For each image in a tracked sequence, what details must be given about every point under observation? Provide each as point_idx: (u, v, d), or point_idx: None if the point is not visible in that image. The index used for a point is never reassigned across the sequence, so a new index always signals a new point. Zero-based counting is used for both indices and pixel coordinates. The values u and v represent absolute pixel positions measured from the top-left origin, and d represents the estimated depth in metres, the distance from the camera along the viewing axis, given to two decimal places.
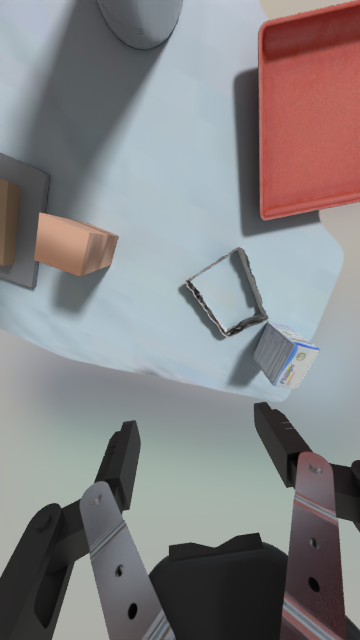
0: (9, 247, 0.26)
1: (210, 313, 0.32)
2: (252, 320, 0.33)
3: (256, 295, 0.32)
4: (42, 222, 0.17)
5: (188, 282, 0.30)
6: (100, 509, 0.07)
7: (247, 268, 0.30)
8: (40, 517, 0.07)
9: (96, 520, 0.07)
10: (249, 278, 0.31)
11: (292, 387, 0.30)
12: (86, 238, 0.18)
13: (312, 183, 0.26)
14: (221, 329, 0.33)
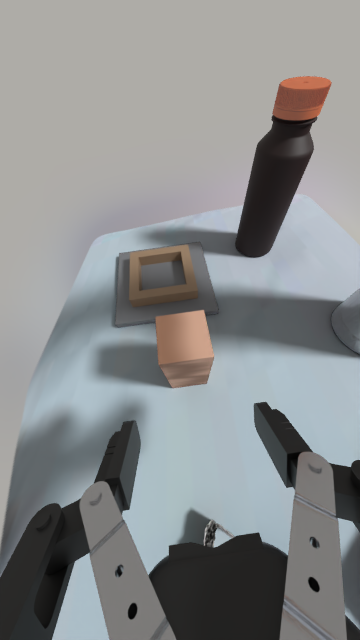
0: (147, 301, 0.29)
1: None
2: None
3: None
4: (196, 313, 0.17)
5: (212, 526, 0.17)
6: (100, 509, 0.07)
7: None
8: (40, 517, 0.07)
9: (96, 520, 0.07)
10: None
11: None
12: (206, 356, 0.15)
13: None
14: None
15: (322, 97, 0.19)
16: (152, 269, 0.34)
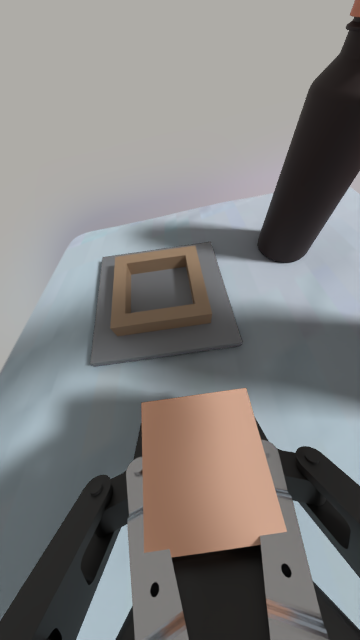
0: (137, 328, 0.20)
1: None
2: None
3: None
4: (230, 397, 0.08)
5: None
6: (141, 482, 0.08)
7: None
8: (94, 483, 0.08)
9: None
10: None
11: None
12: None
13: None
14: None
15: None
16: (146, 279, 0.25)
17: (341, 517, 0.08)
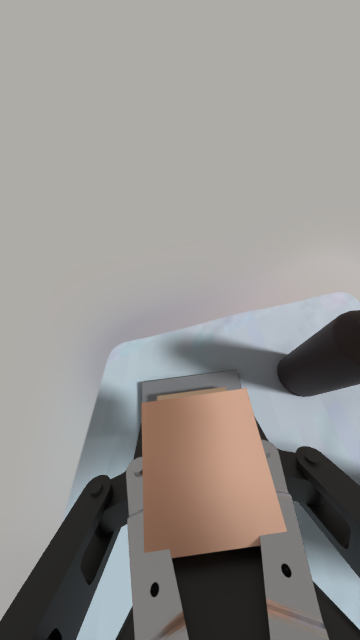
0: None
1: None
2: None
3: None
4: (230, 398, 0.08)
5: None
6: (141, 482, 0.08)
7: None
8: (94, 483, 0.08)
9: None
10: None
11: None
12: None
13: None
14: None
15: None
16: None
17: (341, 517, 0.08)
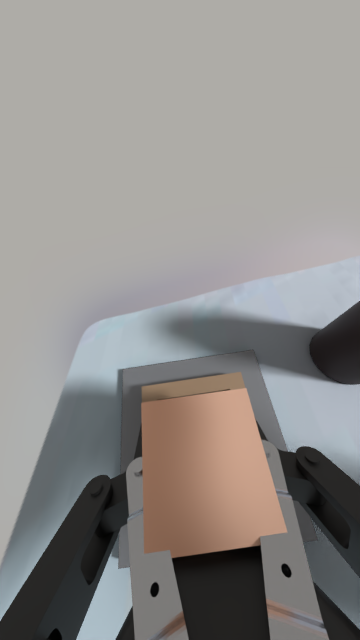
0: None
1: None
2: None
3: None
4: (230, 398, 0.08)
5: None
6: (141, 482, 0.08)
7: None
8: (94, 483, 0.08)
9: None
10: None
11: None
12: None
13: None
14: None
15: None
16: None
17: (341, 517, 0.08)
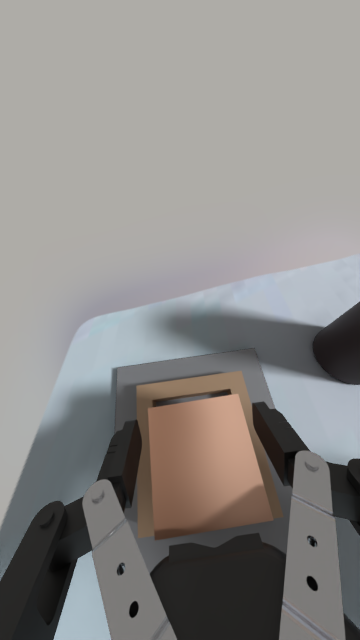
0: None
1: None
2: None
3: None
4: (224, 402, 0.09)
5: None
6: (102, 507, 0.08)
7: None
8: (43, 514, 0.07)
9: (99, 517, 0.07)
10: None
11: None
12: (257, 518, 0.07)
13: None
14: None
15: None
16: None
17: None
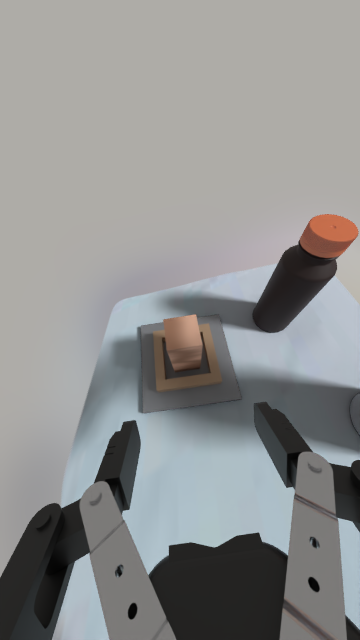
0: (173, 389, 0.30)
1: None
2: None
3: None
4: (190, 317, 0.25)
5: None
6: (99, 509, 0.07)
7: None
8: (40, 517, 0.07)
9: (96, 520, 0.07)
10: None
11: None
12: (197, 344, 0.23)
13: None
14: None
15: (349, 243, 0.20)
16: None
17: None
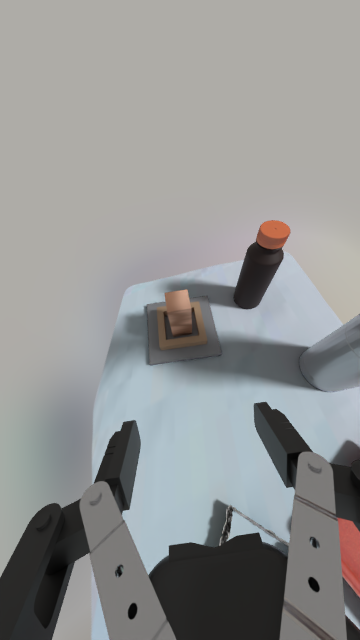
0: (171, 347, 0.42)
1: None
2: None
3: None
4: (183, 291, 0.36)
5: (230, 509, 0.29)
6: (100, 509, 0.07)
7: None
8: (40, 517, 0.07)
9: (96, 520, 0.07)
10: None
11: None
12: (188, 308, 0.34)
13: None
14: None
15: (285, 239, 0.31)
16: None
17: None
